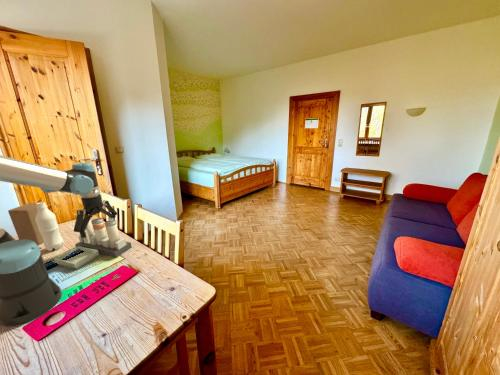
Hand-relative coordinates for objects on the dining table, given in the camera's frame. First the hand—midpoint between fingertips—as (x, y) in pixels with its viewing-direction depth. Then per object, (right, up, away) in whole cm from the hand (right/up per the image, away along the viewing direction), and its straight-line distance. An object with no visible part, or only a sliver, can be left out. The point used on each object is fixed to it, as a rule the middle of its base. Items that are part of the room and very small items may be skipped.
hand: (101, 235), depth 102 cm
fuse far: (-8, -4, +4) cm, 10 cm away
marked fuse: (0, -4, +1) cm, 4 cm away
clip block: (0, -7, +2) cm, 7 cm away
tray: (-6, -10, -7) cm, 13 cm away
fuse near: (+8, -5, -1) cm, 10 cm away
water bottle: (-26, -7, +3) cm, 27 cm away
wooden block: (-42, -5, +11) cm, 44 cm away
